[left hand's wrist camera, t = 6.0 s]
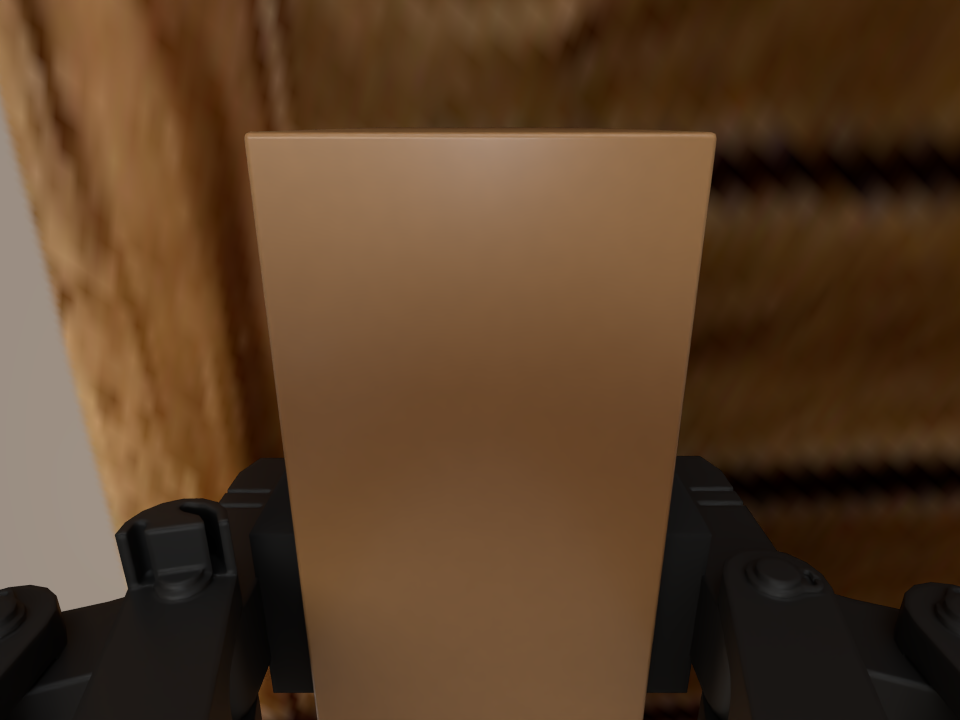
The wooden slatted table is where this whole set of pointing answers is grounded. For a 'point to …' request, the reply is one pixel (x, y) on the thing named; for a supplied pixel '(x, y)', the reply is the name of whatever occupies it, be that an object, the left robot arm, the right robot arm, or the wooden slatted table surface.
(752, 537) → the left robot arm
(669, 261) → the beam
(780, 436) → the wooden slatted table surface
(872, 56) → the wooden slatted table surface
